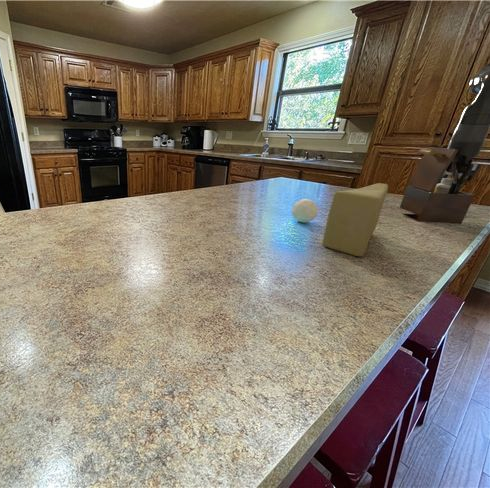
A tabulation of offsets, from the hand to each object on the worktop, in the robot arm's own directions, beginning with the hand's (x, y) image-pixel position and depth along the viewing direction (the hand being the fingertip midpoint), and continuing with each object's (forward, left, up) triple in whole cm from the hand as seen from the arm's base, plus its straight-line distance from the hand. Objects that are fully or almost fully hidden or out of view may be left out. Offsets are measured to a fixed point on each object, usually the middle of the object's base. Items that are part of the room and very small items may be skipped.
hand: (444, 192), depth 92 cm
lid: (+7, 0, +8) cm, 10 cm away
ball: (+48, +14, -9) cm, 51 cm away
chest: (+2, 0, -9) cm, 9 cm away
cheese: (+39, +30, -9) cm, 50 cm away
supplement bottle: (0, 0, -6) cm, 6 cm away
